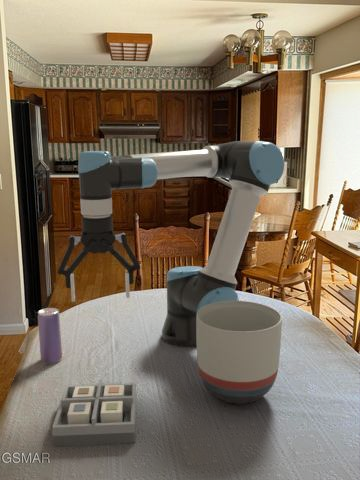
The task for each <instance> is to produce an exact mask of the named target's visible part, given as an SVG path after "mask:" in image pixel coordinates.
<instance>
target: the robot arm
mask: <svg viewBox="0 0 360 480" xmlns="http://www.w3.org/2000/svg"><path fill="white" fill-rule="evenodd" d="M77 164H78V169H77V172H78V181H79V182H78V183H79V193H80V201H79V202H80V214H81V215H82V217H81V221H80V222H81V236H78V235H77V236H75V235H73V234H70V236H69V239H68V240H69V241H68V242H69V243H68V246H67V249H66V250H65V252H64V255H63V258H62V259H61V261H60V264H59V266H58V268H57V274H58V275H63V276H64V277H65V287H66V289H70V295H71V303H73V302H75V303H76V292H75V291H76V290H75V274H74V271H75V270H76V269H77V267H78V266H79V265H80V264H81V262H82V261H83V260H84V259H85V257H86V256H87V255H88V254H89V253H91V254H92V255H93V254H98V253H99V254H106V253H107V252H109V253H110V254H111V255H112V256H113V257H114V258H115V259H116V261H118V262H119V263H120V264H121V265H122V266H123V267H124V269H125V270H124V276H125V282H124V283H125V297H126V299H130V298H131V295H130V294H131V293H130V285H133V284H134V281H135V280H134V272H135V271H137V270H139V271H140V269H141V264H140V263H139V260H138V259H137V257H136V256H135V254H134V252H133V250H132V248H131V247H130V245H129V243H128V240H127V235H126V232H121V233H120V234H114V223H113V220H114V219H113V216H112V215H111V214H113V199H112V198H113V195H112V192H113V191H114V190H115V191H117V190H126V189H127V190H128V189H129V190H130V189H131V190H132V189H144V188H151V187H154V185H155V184H156V183H157V180H166V179H167V180H168V179H176V178H177V179H178V178H185V177H195V176H205V177H206V178H224V179H229V181H228V182H229V184H230V186H231V191H230V194H229V197H228V200H227V203H226V206H225V209H224V212H223V214H222V215H223V216H222V218H221V221H220V223H219V226H218V229H217V233H216V236H215V239H214V240H213V241H214V242H213V245H212V248H211V252H210V254H209V257H208V259H207V263H206V266H204V267H202V266H198V265H197V266H196V265H187V266H186V265H185V266H178V267H174V268H171V269H169V270H168V271H167V273H166V310H167V313H166V317H165V321H164V323H163V327H162V330H161V338H162V340H163V341H164V343H166V344H169V345H171V346H175V347H197V340H196V315H197V312H198V310H199V309H200V308H202V307H203V306H205V305H208V304H211V303H215V302H221V301H240V299H239V294H238V293H237V292H236V288H237V286H238V281H237V279H236V277H235V274H236V272H237V269H238V266H239V263H240V259H241V256H242V254H243V251H244V248H245V245H246V242H247V240H248V239H247V238H248V235H249V234H250V233H249V232H250V230H251V227H252V223H253V222H254V217H255V215H256V211H257V209H258V207H259V203H260V200H261V198H262V197H263V196H265V195H267V194H268V193H269V190H270V187H271V185H274V184H275V183H277V182H278V181H280V180H281V178H282V176H283V174H284V172H285V159H284V156H283V154H282V150H281V149H280V148H279V147H278V146H277V145H276V144H274V143H272V142H269V141H263V140H258V141H247V140H246V141H245V140H244V141H243V140H236V141H235V140H234V141H229V142H226V143H219V144H212V145H206V146H205V145H204V147H202V149H191V150H190V149H189V150H181V151H164V152H150V153H136V154H127V155H126V154H124V155H122V154H121V155H112V154H110V152H109V151H107V150H87V151H86V150H85V151H81V152H79V154H78V162H77ZM116 240H117V242H118V243H119V244H122V247H123V249H124V250H125V251H126V253H127V255H128V257H129V259H130V261H131V262H132V264H130V263H129V262H128V260H127V259H125V257H124V256H123V255H122V254H121V253H120V252H119V251H118V250H117V249H116V248H115V247H114V246H113V245H114V243H115V241H116ZM79 242H80V243H81V244H82V245H83V248H82V249H81V251H80V252H79V254H77V255H76V256H75V258H74V260H73V261H72V262H71V263H70V264H69V266H68V268H66V267H67V264H68V262H69V260H70V257H71V255H72V254H73V251H74V247H75V246H77V245H78V244H79Z"/></svg>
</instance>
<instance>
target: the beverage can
mask: <svg viewBox="0 0 360 480" xmlns="http://www.w3.org/2000/svg"><path fill="white" fill-rule="evenodd" d="M37 314H38V315H37V325H38V337H39V351H40V361H41V362H42V363H43V364H45V365H53V364H56V363H59V362H60V361H61V360H62V357H63V351H62V347H63V346H62V334H61V333H62V331H61V317H60V316H61V315H60V311H59V309H58V308H55V307H45V308H42V309H40V310H38V311H37Z"/></svg>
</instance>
